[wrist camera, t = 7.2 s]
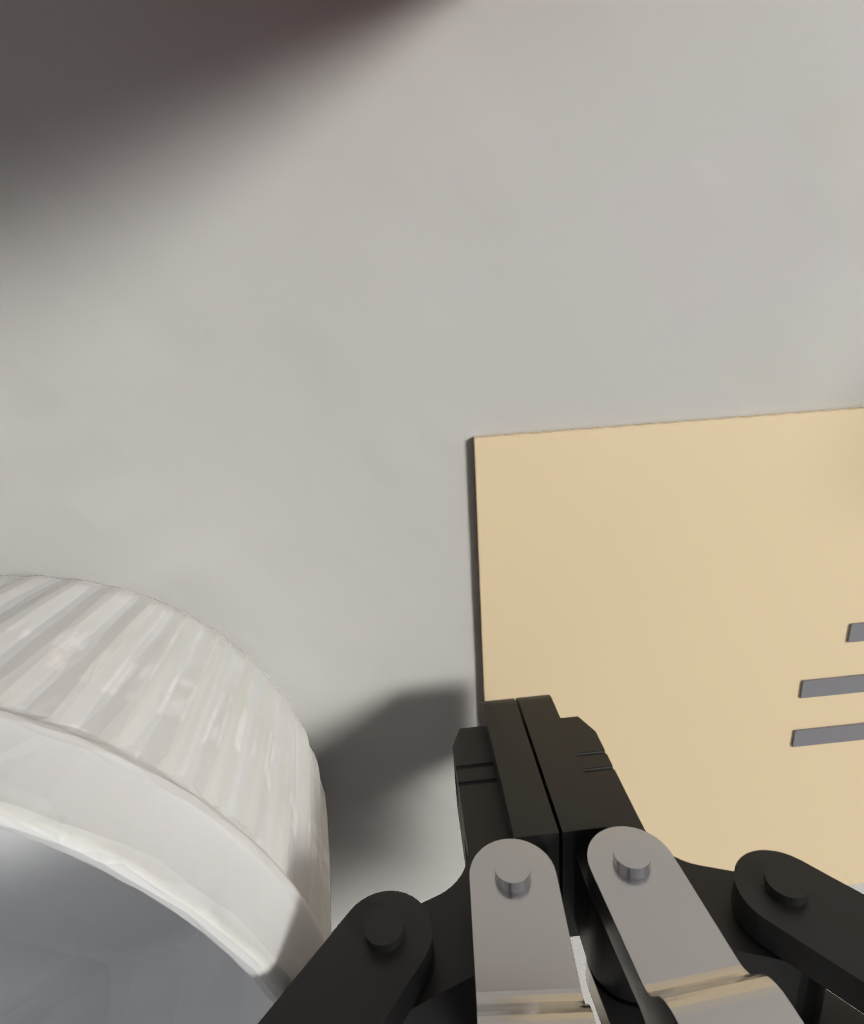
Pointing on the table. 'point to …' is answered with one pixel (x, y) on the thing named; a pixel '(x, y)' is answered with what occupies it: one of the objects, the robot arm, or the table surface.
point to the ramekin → (148, 816)
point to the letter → (693, 619)
